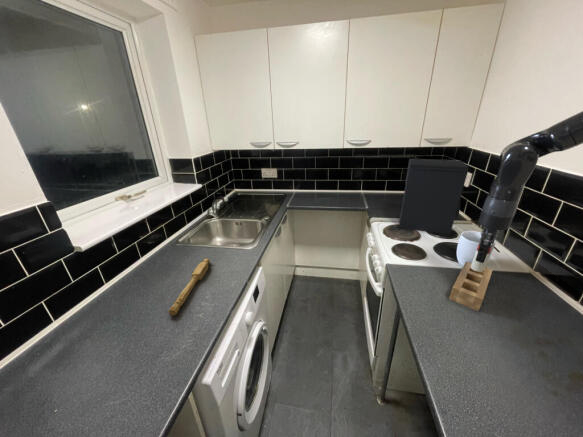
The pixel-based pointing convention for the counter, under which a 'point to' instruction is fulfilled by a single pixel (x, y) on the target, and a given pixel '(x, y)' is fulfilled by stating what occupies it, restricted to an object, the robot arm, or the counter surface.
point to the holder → (470, 286)
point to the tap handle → (189, 286)
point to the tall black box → (432, 195)
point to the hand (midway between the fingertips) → (480, 258)
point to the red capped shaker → (478, 265)
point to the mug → (469, 246)
